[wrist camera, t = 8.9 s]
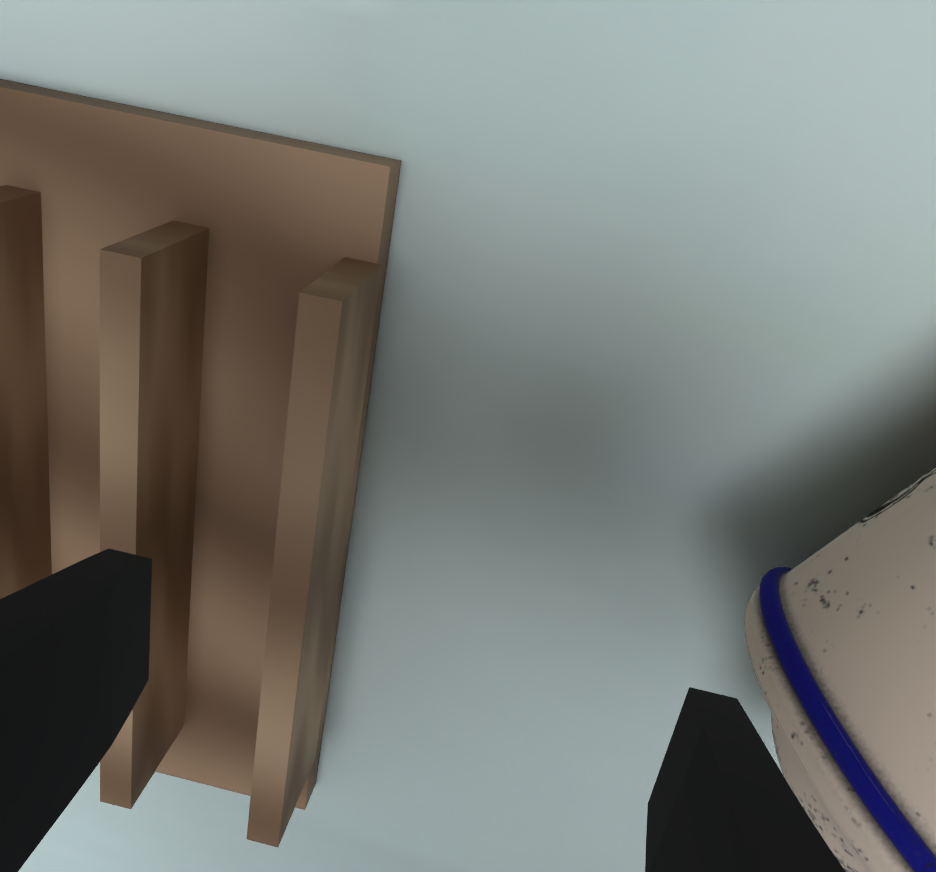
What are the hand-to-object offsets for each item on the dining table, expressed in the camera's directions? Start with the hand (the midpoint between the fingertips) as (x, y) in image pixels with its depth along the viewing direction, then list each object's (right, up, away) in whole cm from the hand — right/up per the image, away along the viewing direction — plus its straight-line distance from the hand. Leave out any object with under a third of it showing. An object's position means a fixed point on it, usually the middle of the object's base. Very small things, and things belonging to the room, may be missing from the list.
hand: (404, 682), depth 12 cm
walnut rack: (-8, +2, +11) cm, 14 cm away
